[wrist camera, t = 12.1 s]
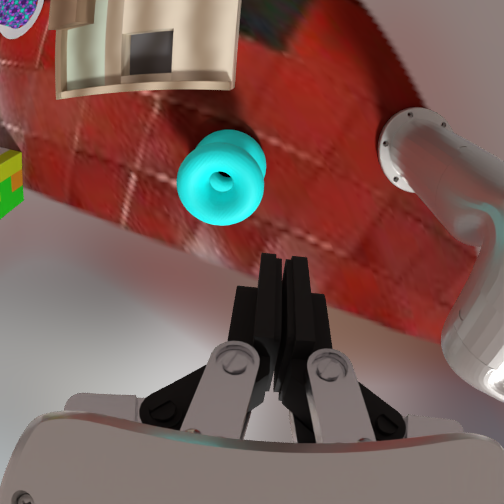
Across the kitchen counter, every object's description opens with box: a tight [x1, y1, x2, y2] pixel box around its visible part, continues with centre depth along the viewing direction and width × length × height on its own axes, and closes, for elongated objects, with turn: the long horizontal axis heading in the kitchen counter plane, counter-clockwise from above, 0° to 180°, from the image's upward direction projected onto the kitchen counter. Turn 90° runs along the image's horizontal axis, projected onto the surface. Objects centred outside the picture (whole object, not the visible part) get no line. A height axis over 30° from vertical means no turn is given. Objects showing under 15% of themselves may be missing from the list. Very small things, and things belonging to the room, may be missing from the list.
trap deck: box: [55, 0, 242, 100], centre depth 27 cm, size 24×25×4 cm
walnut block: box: [48, 0, 96, 30], centre depth 25 cm, size 4×4×4 cm
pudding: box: [0, 0, 44, 39], centre depth 24 cm, size 12×12×5 cm
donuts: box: [177, 130, 266, 225], centre depth 38 cm, size 10×10×10 cm
